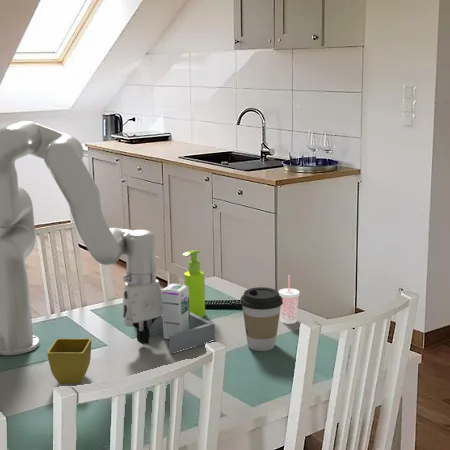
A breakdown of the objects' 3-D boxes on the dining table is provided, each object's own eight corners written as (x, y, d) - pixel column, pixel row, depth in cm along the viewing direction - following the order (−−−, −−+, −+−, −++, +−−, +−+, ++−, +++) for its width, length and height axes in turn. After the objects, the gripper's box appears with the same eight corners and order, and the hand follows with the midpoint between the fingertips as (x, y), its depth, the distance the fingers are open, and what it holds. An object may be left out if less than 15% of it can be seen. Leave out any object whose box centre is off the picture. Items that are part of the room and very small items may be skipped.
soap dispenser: (178, 316, 217) (177, 251, 212) (194, 310, 222) (193, 246, 217) (193, 320, 213) (191, 255, 209) (209, 314, 218) (208, 250, 214)
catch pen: (172, 354, 190) (171, 336, 189) (142, 336, 202) (141, 319, 201) (214, 341, 199) (214, 323, 197) (183, 324, 210) (183, 308, 209)
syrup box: (182, 342, 198) (180, 291, 195) (162, 338, 200) (160, 288, 197) (190, 334, 203) (189, 285, 200) (171, 331, 206) (170, 282, 202)
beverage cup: (288, 326, 208) (288, 279, 205) (273, 320, 213) (274, 274, 210) (303, 321, 212) (304, 275, 209) (289, 315, 217) (289, 270, 213)
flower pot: (48, 387, 172) (46, 352, 170) (58, 371, 181) (56, 337, 179) (85, 388, 172) (83, 352, 170) (93, 372, 180) (91, 338, 178)
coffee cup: (240, 337, 201) (240, 285, 197) (282, 337, 200) (282, 285, 197) (239, 354, 190) (239, 299, 186) (283, 354, 189) (283, 300, 186)
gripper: (123, 286, 183) (126, 354, 188) (173, 275, 192) (174, 340, 196) (109, 279, 189) (111, 345, 193) (157, 268, 198) (159, 331, 202)
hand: (143, 342), depth 195 cm, fingers closed
